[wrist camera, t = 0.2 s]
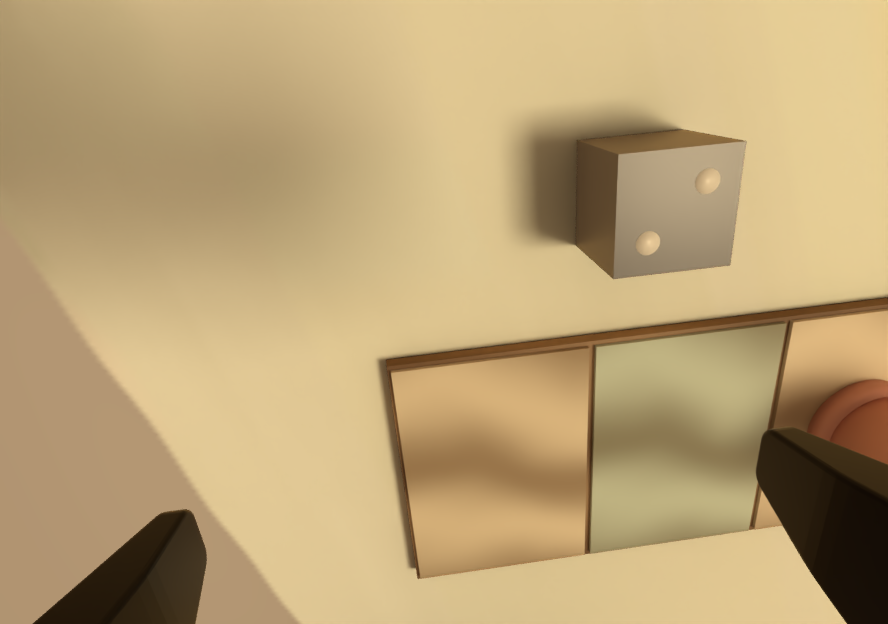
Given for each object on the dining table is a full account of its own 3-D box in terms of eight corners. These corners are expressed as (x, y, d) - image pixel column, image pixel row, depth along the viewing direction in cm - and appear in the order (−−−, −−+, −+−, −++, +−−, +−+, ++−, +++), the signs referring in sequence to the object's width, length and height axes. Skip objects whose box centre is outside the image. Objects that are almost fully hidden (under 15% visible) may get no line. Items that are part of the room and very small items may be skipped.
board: (895, 498, 29) (908, 509, 28) (416, 568, 28) (417, 582, 27) (962, 288, 24) (980, 294, 24) (386, 359, 23) (386, 369, 22)
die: (673, 233, 22) (730, 265, 18) (574, 244, 22) (613, 278, 18) (681, 129, 20) (746, 141, 17) (576, 139, 20) (618, 154, 17)
